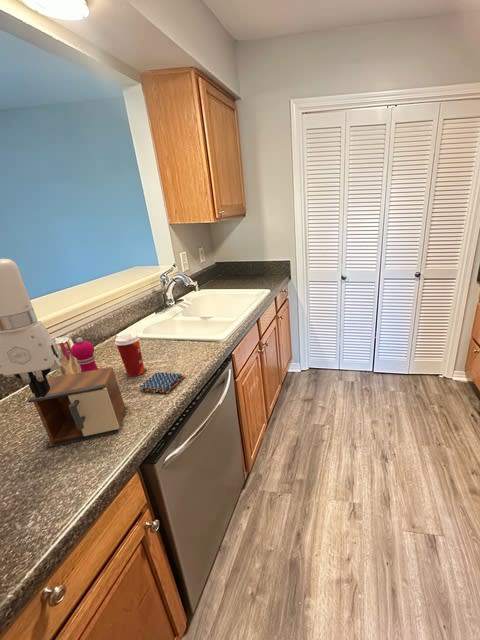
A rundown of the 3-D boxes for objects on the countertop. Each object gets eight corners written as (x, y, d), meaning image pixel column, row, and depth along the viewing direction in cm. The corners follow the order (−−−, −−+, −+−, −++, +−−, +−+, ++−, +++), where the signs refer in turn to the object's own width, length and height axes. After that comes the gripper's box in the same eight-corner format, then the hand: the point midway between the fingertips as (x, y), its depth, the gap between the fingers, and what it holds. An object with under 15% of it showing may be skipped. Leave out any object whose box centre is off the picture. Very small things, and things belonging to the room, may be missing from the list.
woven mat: (168, 394, 102) (167, 389, 102) (139, 392, 105) (137, 386, 104) (185, 377, 112) (184, 372, 111) (158, 375, 114) (156, 370, 113)
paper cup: (151, 371, 117) (142, 336, 112) (129, 380, 112) (119, 343, 106) (142, 365, 122) (132, 331, 117) (120, 373, 117) (110, 338, 111)
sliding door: (79, 446, 81) (62, 404, 76) (84, 434, 85) (68, 394, 80) (116, 438, 83) (102, 397, 78) (119, 427, 87) (106, 387, 82)
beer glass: (83, 371, 120) (70, 334, 114) (86, 378, 115) (73, 340, 109) (61, 378, 115) (46, 340, 110) (63, 385, 111) (48, 346, 105)
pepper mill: (99, 401, 101) (79, 343, 93) (79, 399, 102) (57, 342, 94) (115, 388, 107) (97, 333, 99) (96, 387, 109) (77, 332, 101)
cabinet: (48, 447, 82) (27, 400, 77) (64, 420, 93) (46, 377, 87) (117, 432, 86) (102, 387, 81) (125, 408, 97) (112, 366, 91)
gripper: (-43, 331, 62) (-5, 410, 69) (48, 321, 66) (74, 396, 73) (-21, 318, 69) (12, 392, 76) (60, 310, 73) (84, 380, 80)
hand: (42, 394), depth 75 cm, fingers closed
